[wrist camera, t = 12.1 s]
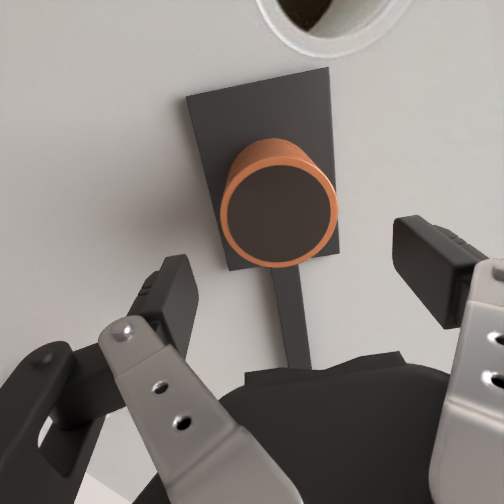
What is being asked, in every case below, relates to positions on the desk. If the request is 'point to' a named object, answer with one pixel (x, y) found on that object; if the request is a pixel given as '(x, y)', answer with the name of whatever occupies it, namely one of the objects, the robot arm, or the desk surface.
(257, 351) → the desk surface
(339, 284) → the desk surface
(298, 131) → the spatula
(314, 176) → the copper pot
